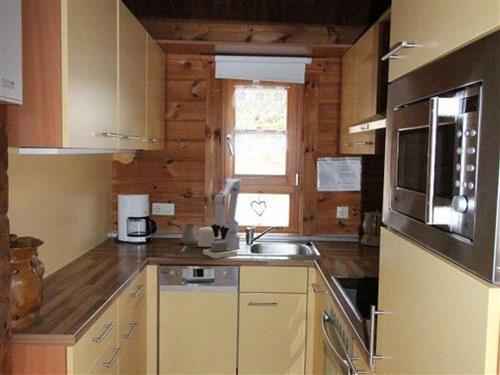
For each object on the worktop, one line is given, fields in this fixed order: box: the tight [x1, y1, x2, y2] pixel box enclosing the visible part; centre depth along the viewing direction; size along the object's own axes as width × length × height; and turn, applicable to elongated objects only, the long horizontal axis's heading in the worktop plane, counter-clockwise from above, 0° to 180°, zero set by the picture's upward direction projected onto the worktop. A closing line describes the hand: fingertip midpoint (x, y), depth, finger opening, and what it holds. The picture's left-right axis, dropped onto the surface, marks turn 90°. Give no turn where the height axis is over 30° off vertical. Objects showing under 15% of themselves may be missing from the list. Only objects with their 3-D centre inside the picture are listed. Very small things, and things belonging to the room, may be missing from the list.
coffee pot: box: [168, 222, 198, 246], centre depth 297 cm, size 21×12×15 cm, turn 132°
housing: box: [210, 240, 227, 252], centre depth 268 cm, size 4×8×5 cm, turn 126°
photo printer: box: [197, 226, 215, 248], centre depth 293 cm, size 10×4×12 cm, turn 98°
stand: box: [202, 248, 238, 259], centre depth 269 cm, size 15×13×3 cm
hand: (219, 238), depth 270 cm, fingers open, 7 cm apart
